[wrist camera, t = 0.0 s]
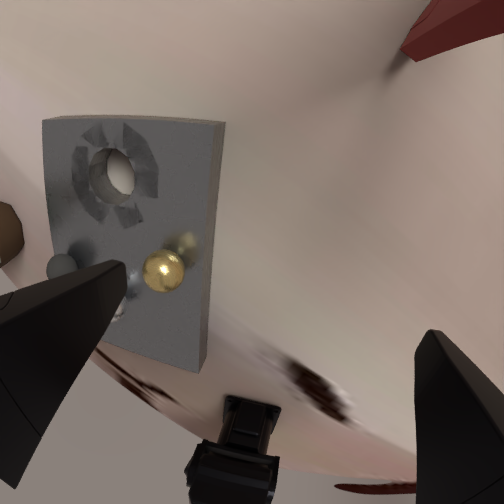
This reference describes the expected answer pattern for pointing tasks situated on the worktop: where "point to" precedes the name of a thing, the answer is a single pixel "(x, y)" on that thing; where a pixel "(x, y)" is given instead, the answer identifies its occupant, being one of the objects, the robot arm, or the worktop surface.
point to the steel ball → (121, 310)
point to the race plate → (140, 219)
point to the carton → (453, 26)
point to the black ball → (60, 265)
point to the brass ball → (163, 271)
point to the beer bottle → (9, 234)
